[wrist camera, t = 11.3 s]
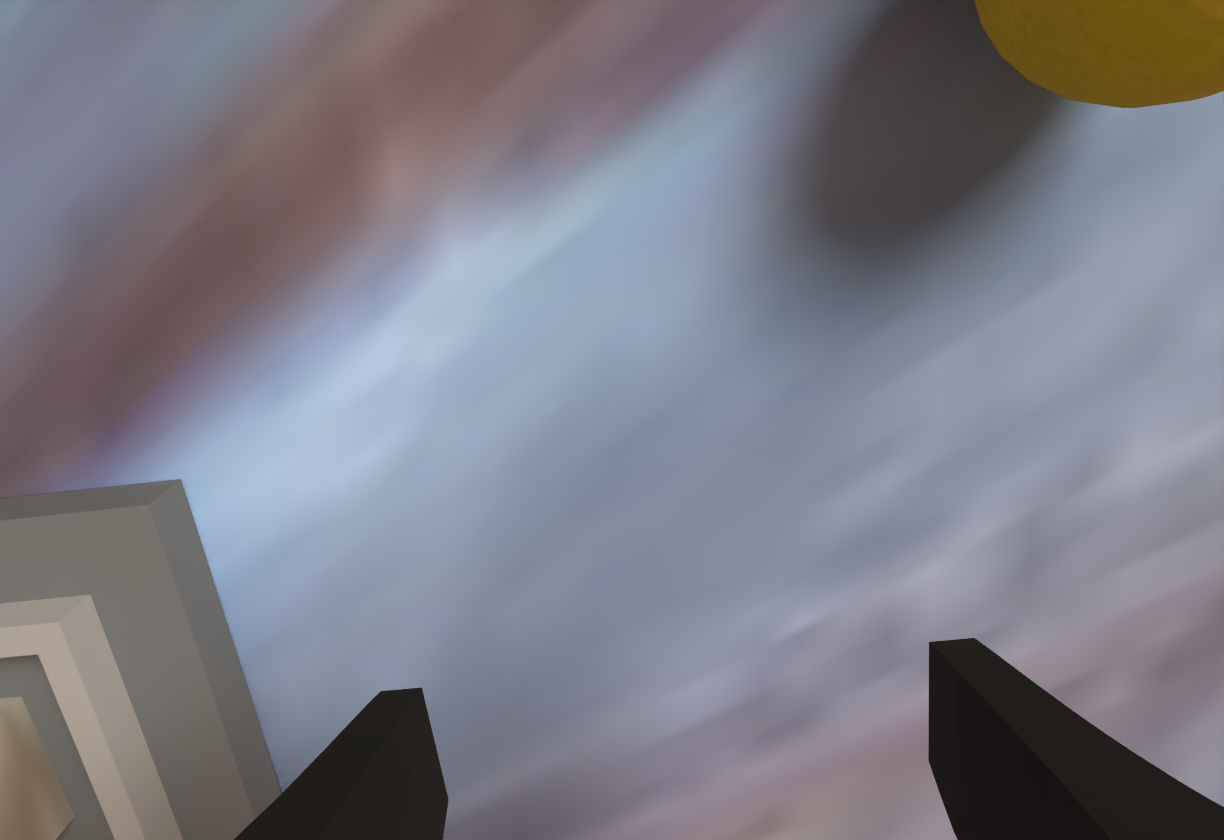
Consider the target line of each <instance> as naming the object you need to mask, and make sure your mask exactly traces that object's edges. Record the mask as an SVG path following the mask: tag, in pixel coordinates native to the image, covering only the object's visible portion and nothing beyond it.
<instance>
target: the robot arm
mask: <svg viewBox="0 0 1224 840" xmlns="http://www.w3.org/2000/svg"><path fill="white" fill-rule="evenodd" d="M929 763H930V766H931V769H932V772H933V775H934V778H935V780H936V783H937V786H938V789H939V792H940V795H941V798H942V801H943V803H944V806H945V809H946V811H947V814H948V817H949V820H950V822H951V825H952V828H953V830H954V833H955V835H956V837H957V839H958V840H1224V807H1222V806H1221V805H1219V804H1217V803H1215V802H1213V801H1212V800H1210V799H1208V798H1206V797H1205V796H1203V795H1201V794H1200V793H1198V792H1196V791H1194V790H1193V789H1191V788H1189V787H1188V786H1186V785H1184V784H1183V783H1181V782H1179V781H1178V780H1176V779H1175V778H1173V777H1171V776H1170V775H1168V774H1167V773H1165V772H1164V771H1162V770H1160V769H1159V768H1157V767H1156V766H1154V765H1153V764H1151V763H1149V762H1148V761H1146V760H1145V759H1143V758H1142V757H1140V756H1138V755H1137V754H1135V753H1134V752H1132V751H1131V750H1129V749H1128V748H1126V747H1125V746H1123V745H1122V744H1120V743H1119V742H1117V741H1116V740H1114V739H1113V738H1111V737H1110V736H1108V735H1107V734H1105V733H1104V732H1102V731H1101V730H1099V729H1098V728H1097V727H1095V726H1094V725H1092V724H1091V723H1089V722H1088V721H1086V720H1085V719H1084V718H1082V717H1081V716H1079V715H1078V714H1077V713H1075V712H1074V711H1072V710H1071V709H1070V708H1068V707H1067V706H1065V705H1064V704H1063V703H1061V702H1060V701H1059V700H1057V699H1056V698H1054V697H1053V696H1052V695H1050V694H1049V693H1048V692H1046V691H1045V690H1044V689H1042V688H1041V687H1039V686H1038V685H1037V684H1035V683H1034V682H1033V681H1031V680H1030V679H1029V678H1027V677H1026V676H1025V675H1023V674H1022V673H1021V672H1019V671H1018V670H1017V669H1015V668H1014V667H1013V666H1011V665H1010V664H1009V663H1007V662H1006V661H1005V660H1003V659H1002V658H1001V657H999V656H998V655H997V654H995V653H994V652H993V651H991V650H990V649H989V648H987V647H986V646H985V645H983V644H982V643H980V642H979V641H978V640H976V639H975V638H969V639H958V640H947V641H936V642H929ZM447 806H448V796H447V792H446V788H445V783H444V779H443V775H442V771H441V767H440V762H439V758H438V754H437V750H436V746H435V741H434V737H433V733H432V729H431V725H430V720H429V716H428V712H427V708H426V704H425V699H424V695H423V691H422V688H412V689H401V690H390V691H381V692H380V693H379V694H378V695H377V696H375V697H374V698H373V699H372V700H371V701H370V702H369V703H368V704H367V705H366V707H365V708H364V709H363V710H362V711H361V712H360V713H359V714H358V715H357V716H356V717H355V718H354V719H353V720H352V721H351V722H350V723H349V724H348V725H347V727H346V728H345V729H344V730H343V731H342V732H341V733H340V734H339V735H338V736H337V737H336V738H335V739H334V740H333V741H332V742H331V744H330V745H329V746H328V747H327V748H326V749H325V750H324V751H323V752H322V753H321V754H320V755H319V756H318V757H317V758H316V759H315V760H314V761H313V762H312V763H311V764H310V765H309V766H308V767H307V768H306V769H305V770H304V771H303V773H302V774H301V775H300V776H299V777H298V778H297V779H296V780H295V781H294V782H293V783H292V784H291V785H290V786H289V787H288V788H287V789H286V790H285V791H284V792H283V793H282V794H281V795H280V796H279V797H278V798H277V799H276V800H275V801H274V802H273V803H272V804H270V805H269V806H268V807H267V808H266V809H265V810H264V811H263V812H262V813H261V814H260V815H259V816H258V817H257V818H256V819H255V820H254V821H253V822H251V823H250V824H249V825H248V826H247V827H246V828H245V829H244V830H243V831H242V832H241V833H240V834H239V835H238V836H237V837H236V838H235V839H234V840H442V839H443V833H444V826H445V819H446V813H447Z"/></svg>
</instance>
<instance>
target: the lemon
mask: <svg viewBox="0 0 1224 840" xmlns="http://www.w3.org/2000/svg"><path fill="white" fill-rule="evenodd" d="M974 1H975V5H976V8H977V11H978V15H979V18H980V22H981V25H982V27H983V29H984V30H985V32H986V33H987V35H988V37H989V38H990V40H991V41H992V43H993V45H994V46H995V48H996V49H997V51H998V53H999V54H1000V56H1001V57H1002V58H1004V59H1005V60H1006V61H1007V62H1008V63H1009V64H1010V65H1012V66H1013V67H1014V68H1015V69H1016V70H1017V71H1018V72H1020V73H1021V74H1022V75H1023V76H1024V77H1025V78H1027V79H1028V80H1029V81H1031V82H1032V83H1034V84H1037V85H1039V86H1041V87H1043V88H1045V89H1048V90H1050V91H1052V92H1054V93H1056V94H1058V95H1061V96H1063V97H1065V98H1068V99H1070V100H1074V101H1079V102H1085V103H1093V104H1100V105H1107V106H1114V107H1121V108H1137V107H1145V106H1153V105H1161V104H1168V103H1176V102H1183V101H1191V100H1195V99H1199V98H1204V97H1207V96H1210V95H1213V94H1216V93H1219V92H1222V91H1224V0H974Z"/></svg>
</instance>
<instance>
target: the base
mask: <svg viewBox="0 0 1224 840" xmlns="http://www.w3.org/2000/svg"><path fill="white" fill-rule="evenodd" d="M12 697H22V699H23V701H24V704H25V706H26V708H27V710H28V713H29V715H30V717H31V719H32V722H33V724H34V726H35V729H36V731H37V733H38V735H39V738H40V740H41V742H42V744H43V747H44V749H45V751H46V754H47V756H48V758H49V760H50V763H51V765H52V767H53V769H54V772H55V774H56V776H57V779H58V781H59V783H60V785H61V788H62V790H63V792H64V794H65V797H66V799H67V801H68V804H69V806H70V808H71V810H72V813H73V815H74V818H73V819H72V820H71V821H70V823H69V824H68V825H67V826H66V828H65V829H64V830H63V831H62V833H61V834H60V835H59V836H58V838H57V839H56V840H234V839H235V838H236V837H237V836H238V835H239V834H240V833H241V832H242V831H243V830H244V829H245V828H246V827H247V826H248V825H249V824H250V823H251V822H253V821H254V820H255V819H256V818H257V817H258V816H259V815H260V814H261V813H262V812H263V811H264V810H265V809H266V808H267V807H268V806H269V805H270V804H272V803H273V802H274V801H275V800H276V799H277V798H278V797H279V796H280V795H281V794H282V793H281V790H280V787H279V784H278V780H277V777H276V774H275V771H274V768H273V765H272V762H271V759H270V756H269V752H268V749H267V746H266V743H265V740H264V737H263V734H262V731H261V728H260V724H259V721H258V718H257V715H256V712H255V709H254V706H253V703H252V700H251V696H250V693H249V690H248V687H247V684H246V681H245V678H244V675H243V672H242V668H241V665H240V662H239V659H238V656H237V653H236V650H235V647H234V643H233V640H232V637H231V634H230V631H229V628H228V625H227V622H226V619H225V615H224V612H223V609H222V606H221V603H220V600H219V597H218V594H217V591H216V587H215V584H214V581H213V578H212V575H211V572H210V569H209V566H208V563H207V559H206V556H205V553H204V550H203V547H202V544H201V541H200V538H199V535H198V531H197V528H196V525H195V522H194V519H193V516H192V513H191V510H190V507H189V503H188V500H187V497H186V494H185V491H184V488H183V485H182V482H181V479H179V480H169V481H160V482H151V483H142V484H132V485H123V486H114V487H104V488H95V489H86V490H76V491H67V492H58V493H49V494H39V495H30V496H21V497H11V498H2V499H0V699H1V698H12Z"/></svg>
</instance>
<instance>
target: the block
mask: <svg viewBox="0 0 1224 840" xmlns="http://www.w3.org/2000/svg"><path fill="white" fill-rule="evenodd" d="M73 818H74V815H73V813H72V810H71V808H70V806H69V804H68V801H67V799H66V797H65V794H64V792H63V790H62V788H61V785H60V783H59V781H58V779H57V776H56V774H55V772H54V769H53V767H52V765H51V763H50V760H49V758H48V756H47V754H46V751H45V749H44V747H43V744H42V742H41V740H40V738H39V735H38V733H37V731H36V729H35V726H34V724H33V722H32V719H31V717H30V715H29V713H28V710H27V708H26V706H25V704H24V701H23V699H22V697H12V698H1V699H0V840H56V839H57V838H58V836H59V835H60V834H61V833H62V831H63V830H64V829H65V828H66V826H67V825H68V824H69V823H70V821H71V820H72V819H73Z"/></svg>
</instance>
